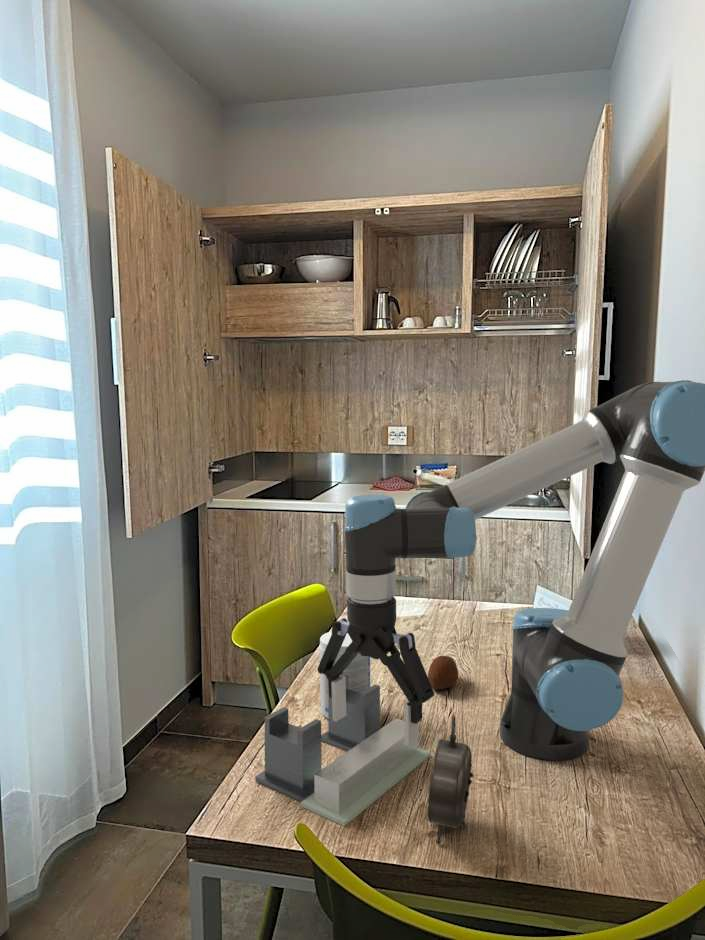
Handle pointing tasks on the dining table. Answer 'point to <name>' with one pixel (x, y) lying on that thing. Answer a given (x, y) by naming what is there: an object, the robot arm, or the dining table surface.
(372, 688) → the post right
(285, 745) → the post left
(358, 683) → the supplement tub
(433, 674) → the potato
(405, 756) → the rail
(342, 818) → the mat
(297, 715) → the dining table surface
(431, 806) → the alarm clock
